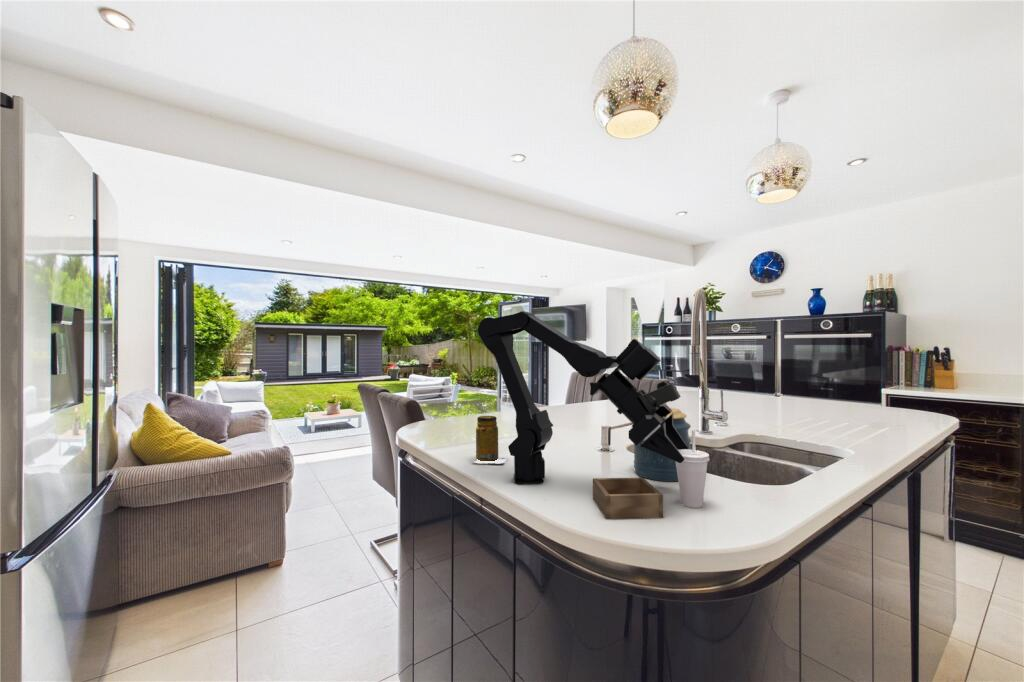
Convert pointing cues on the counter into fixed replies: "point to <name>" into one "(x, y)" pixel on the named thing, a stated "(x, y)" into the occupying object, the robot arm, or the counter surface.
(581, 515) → the counter surface
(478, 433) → the condiment
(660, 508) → the wooden box
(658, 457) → the canister
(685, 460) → the smoothie
